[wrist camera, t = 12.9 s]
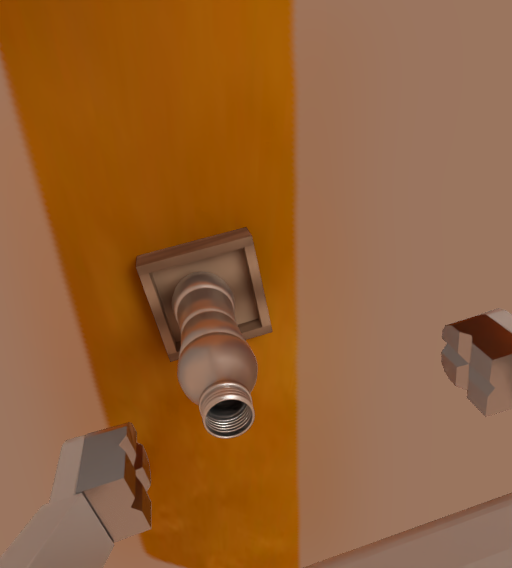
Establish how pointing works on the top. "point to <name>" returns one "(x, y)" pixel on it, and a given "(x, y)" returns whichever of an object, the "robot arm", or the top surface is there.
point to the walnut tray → (214, 259)
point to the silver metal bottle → (214, 355)
